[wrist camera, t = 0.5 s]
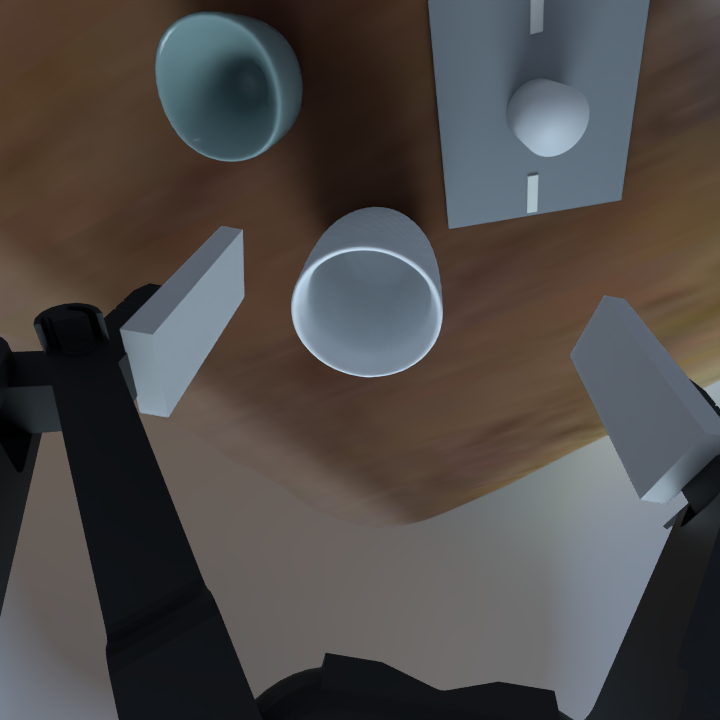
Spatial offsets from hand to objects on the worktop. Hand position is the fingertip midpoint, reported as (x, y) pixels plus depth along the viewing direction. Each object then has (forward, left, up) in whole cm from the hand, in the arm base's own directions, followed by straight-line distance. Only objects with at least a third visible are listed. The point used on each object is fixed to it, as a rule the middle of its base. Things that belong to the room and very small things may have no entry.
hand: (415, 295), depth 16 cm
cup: (-7, -11, -25) cm, 28 cm away
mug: (+9, -5, -25) cm, 27 cm away
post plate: (-1, +9, -25) cm, 26 cm away
